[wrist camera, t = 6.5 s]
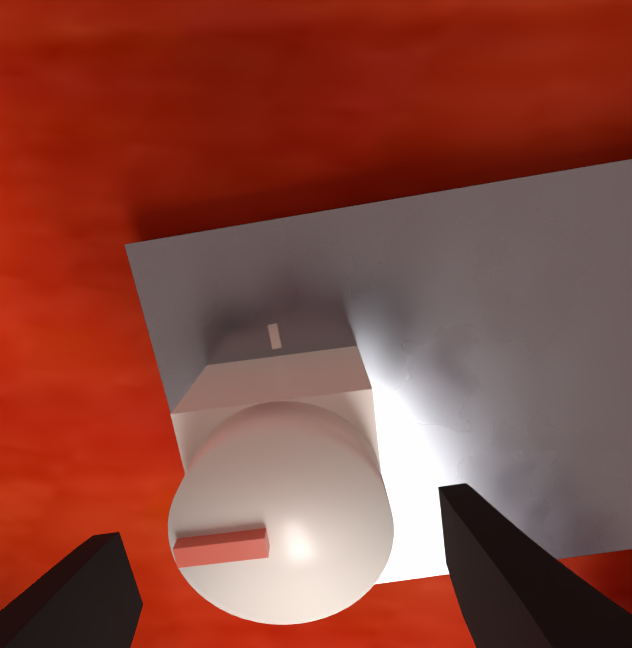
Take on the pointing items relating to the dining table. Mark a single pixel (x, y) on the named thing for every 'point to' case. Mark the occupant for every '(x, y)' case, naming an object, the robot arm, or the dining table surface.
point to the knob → (281, 487)
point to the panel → (441, 342)
